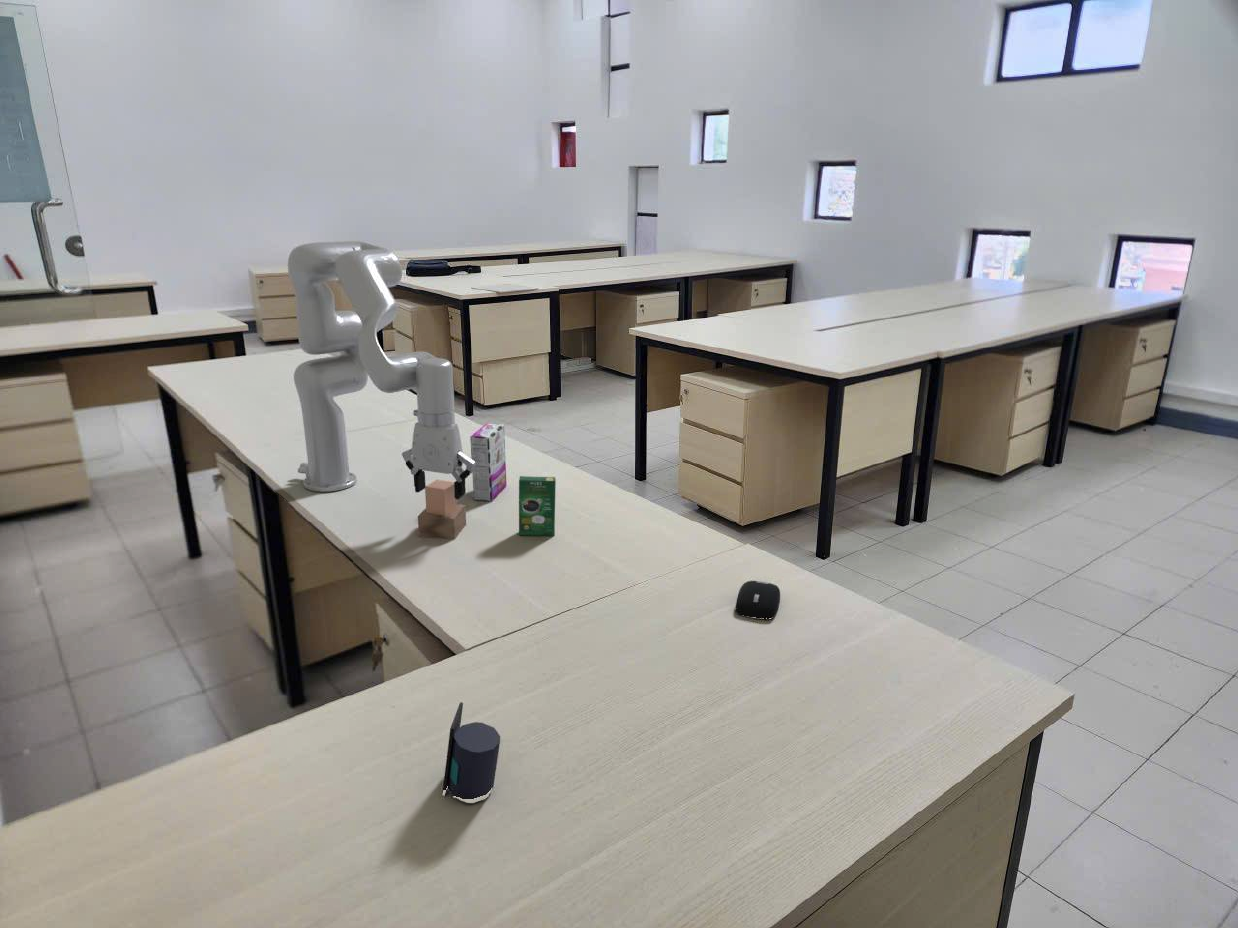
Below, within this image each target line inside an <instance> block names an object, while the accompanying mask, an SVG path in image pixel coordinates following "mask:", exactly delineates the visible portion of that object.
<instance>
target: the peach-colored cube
mask: <svg viewBox="0 0 1238 928" xmlns="http://www.w3.org/2000/svg"><path fill="white" fill-rule="evenodd" d="M454 482H455V481H454ZM454 482H453V481H447V480H442V479H436V480H433V481H432V482H431V483H429V484H427V485H426V486H425V489H424V493H425V508H426V513H431V514H437V515H442V516H447V515H448V514H450V513H451V512H453V511H454V510H456V509H457V504H458V499H455V495H454Z"/></svg>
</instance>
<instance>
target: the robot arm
mask: <svg viewBox="0 0 1238 928" xmlns="http://www.w3.org/2000/svg"><path fill="white" fill-rule="evenodd" d="M287 271H288V274H289V275H288V276H289V279H290V282H291V285H292V289H293V292H294V297H295V308H296V309H295V310H296V311H295V312H296V326H297V335H298V344H299V347H300V348H301V350H302V351H303V352H304V353H306V354H308V355H313V356H314V355H315V356H316V355H325V354H331V353H333V354H334V353H339V352H340V355H334V356H325V357H320V358H315V359H314V358H313V359H310V360H307V361H303V362H302V363H300V364H299V365H298V366H297V367H296V368H295V370H294V373H293V379H294V380H293V382H294V385H295V388H296V392H297V395H298V396H297V397H298V398H299V403H300V408H301V412H302V413H301V414H302V423H303V431H304V438H305V440H304V441H305V448H306V449H305V450H306V458H307V459H306V460H307V462H301V463H300V464H299V467H298V468H297V473H298V474H305V478H304V480H303V487H304V488H305V489H307V490H309V491H312V492H320V493H321V492H322V493H325V492H328V493H329V492H336V491H342V490H345V489H348V488H350V487H352V486H354V485H355V484H356V483H357V482H358V481H357V476H356V474H354V473H353V472H350V466H349V463H350V462H349V456H348V455H349V453H348V442H347V441H348V440H347V433H346V422H345V415H344V412H343V410H342V409H341V407H340V406H339V405H338V404H337V403H336V401H335V400H334V398H335V397H338V396H342V395H343V396H344V395H347V394H352V393H357V392H359V391H361V390H363V389H364V388H365V387H366V386H367V383H368V379H369V378H370V380H371V382H372V384H374V385H375V387H376V388H377V389H378V390H380V391H381V392H382V393H385V394H386V393H387V394H393V393H398V392H402V391H407V390H412V389H416V404H417V409H414V410H413V416H414V417H417V422H415V423H414V427H413V432H412V433H413V434H412V442H411V448H410V449H407V450H405V451H403V452H402V453H401V456H402V458H403V460H404V462H405V465H406V466H407V468H408V469H409V470H410V474H411V475H412V476H413V485H414V492H415V493H419V492H422V491H424V490H425V486H427V485H426V472H425V471H427V472H432V473H439V474H444V475H445V474H446V475H449V474H450V475H452V477H453V478H454V479H455V481H454V495H455V499H457V500H459V499H461V498H462V497H464V496H465V494H466V479H468V477H469V476H470V475H471V474H472V471H473V469H474V467H475V465H476V462H475V461H473V460H472V458H470V457H469V456H467V455H466V454H464V453H463V446H462V445H463V444H462V439H461V433H460V429H459V426H458V424H457V423H456V415H455V390H454V389H455V388H454V384H455V383H454V369H453V367H454V366H453V364H452V363H451V361H450V360H448V359H446V358H442V357H440V358H439V357H437V356H435V355H433V354H431V353H430V352H428V351H424V350H423V351H422V350H421V351H412V352H409V353H408V352H406V353H399V354H395V355H394V354H393V355H388V356H387V355H386V353H385V352H384V351H383V349H382V347H381V345H380V343H379V339H378V334H377V333H378V332H379V331H381V330H383V329H384V328H385V327H387V326H388V325H389V324H391V323H392V322H393V321H394V320H395V319H396V317H397V316H398V315H399V312H400V309H399V308H400V307H399V305H398V302H397V301H396V299H395V297H394V295H393V294H392V292H391V290H390V289H389V288H393V287H396V286H397V285H399V284H400V282H401V280H402V277H403V268H402V264H401V262H400V260H399V258H398V257H397V256H396V254H394V252H392V251H391V250H389V249H387V248H384V247H381V246H378V245H374V244H371V243H367V242H364V241H356V240H351V241H350V240H349V241H347V240H346V241H322V242H309V243H303V244H300V245H298V246H296V247H294V248H293V249H292V250H291V252H290V253H289V255H288V259H287ZM333 281H338V282H339V284H340V286H341V287H342V289H343V291H344V293H345V295H346V296H347V298H348V300H349V301H350V304H351V305H352V307H353V309H354V310H355V311H352V310H347V309H346V310H338V311H336V307H335V305H336V304H335V302H336V300H335V295H334V292H333V291H332V289H331V287H330V286H329V284H328V283H327V282H333ZM463 464H464V466H465V470H464V468H463Z"/></svg>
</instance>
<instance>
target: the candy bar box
mask: <svg viewBox="0 0 1238 928" xmlns="http://www.w3.org/2000/svg"><path fill="white" fill-rule="evenodd" d="M470 453H471V455H470V457H471V458H470V459H472V460H473V461H475V462H476V465H475V467H474V469H473V471H472V473H471V474H472V489H473V500H474V501H480V502H481V501H482V502H493V501H494V500H495V499H496V498H497V497H498V496H499V494H501V493H502V491H503V490H504V489H505V488H506V487H507V470H506V469H507V467H506V442H505V424H503V423H502V424H500V423H492V422H491V423H489V422H488V423H485V424H484V425H483V426H481V427H480V428H479V429H477V430H476V431H475V432H474V433H473V434H471V435H470Z"/></svg>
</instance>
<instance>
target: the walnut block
mask: <svg viewBox="0 0 1238 928" xmlns="http://www.w3.org/2000/svg"><path fill="white" fill-rule="evenodd" d="M466 512H467V511H466V504H458V503H457V509H456V510H454V511H453V512H451V513H450V514H448V515H447V516H442V515H437V514H431V513H426V507H425V508H424V509H423V510H422V511H421V512H420V514H418V515H417V525H418V536H419V537H420V538H431V539H444V540H446V539H447V540H456V539H457V537H458V536H459V535H460V534H459V533H462V531H463V530H464V529H465V527H466V526H467V513H466ZM419 537H418V538H419Z"/></svg>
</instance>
